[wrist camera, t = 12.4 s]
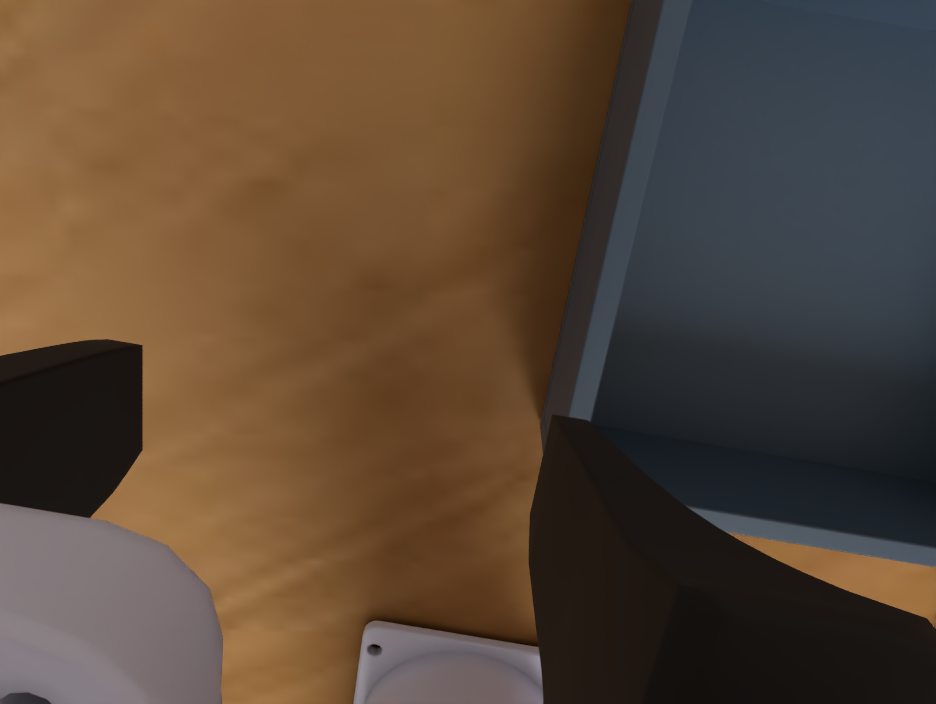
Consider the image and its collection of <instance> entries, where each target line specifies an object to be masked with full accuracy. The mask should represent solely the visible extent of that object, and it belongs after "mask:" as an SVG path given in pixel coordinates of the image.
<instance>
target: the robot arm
mask: <svg viewBox="0 0 936 704" xmlns="http://www.w3.org/2000/svg"><path fill="white" fill-rule="evenodd" d="M141 451H142V345H138V344H132V343H126V342H120V341H114V340H108V339H106V340H87V341H79V342H72V343H66V344H60V345H55V346H49V347H44V348H38V349H33V350H28V351H23V352H18V353H12V354H7V355H2V356H0V704H222V696H221V674H222V654H223V636H222V632H221V629H220V625H219V621H218V617H217V614H216V610H215V606H214V603H213V599H212V595H211V592H210V589H209V588H208V586H207V585H206V584H205V583H204V582H203V581H202V580H201V579H200V578H199V577H198V576H197V575H196V574H195V573H194V572H193V571H192V570H191V569H190V568H189V567H188V566H187V565H186V564H185V563H184V562H183V561H182V560H181V559H180V558H179V557H178V556H177V555H176V554H175V553H174V552H173V551H172V550H171V549H170V548H169V547H168V546H167V545H166V544H163V543H161V542H158V541H156V540H153V539H151V538H148V537H146V536H143V535H140V534H138V533H135V532H133V531H130V530H128V529H125V528H123V527H120V526H118V525H115V524H113V523H110V522H107V521H104V520H98V519H92V518H90V517H91V516H92V515H93V514H94V513H95V512H96V510H97V509H98V508H99V507H100V506H101V505H102V504H103V503H104V502H105V501H106V500H107V499H108V498H109V496H110V495H111V494H112V493H113V492H114V490H115V489H116V488H117V486H118V485H119V484H120V482H121V481H122V479H123V478H124V477H125V475H126V474H127V472H128V471H129V469H130V468H131V466H132V465H133V463H134V462H135V460H136V459H137V457H138V456H139V454H140V453H141ZM529 569H530V578H531V587H532V596H533V605H534V613H535V621H536V630H537V638H538V647H534V646H528V645H522V644H516V643H510V642H504V641H498V640H492V639H486V638H480V637H474V636H468V635H462V634H456V633H450V632H444V631H438V630H432V629H426V628H420V627H414V626H408V625H402V624H396V623H390V622H384V621H372V622H369V623H368V624H367V625H366V626H365V629H364V632H363V636H362V643H361V651H360V658H359V666H358V673H357V680H356V688H355V695H354V703H353V704H936V629H935V628H934V627H933V625H932V624H931V623H930V622H929V620H928V619H926V618H924V617H921V616H918V615H915V614H912V613H909V612H907V611H904V610H901V609H898V608H895V607H892V606H889V605H886V604H883V603H880V602H878V601H875V600H872V599H869V598H866V597H863V596H860V595H857V594H854V593H852V592H849V591H846V590H844V589H841V588H839V587H836V586H834V585H832V584H829V583H827V582H825V581H822V580H820V579H817V578H815V577H813V576H810V575H808V574H806V573H803V572H801V571H799V570H797V569H795V568H792V567H790V566H788V565H786V564H784V563H782V562H780V561H778V560H776V559H774V558H772V557H770V556H768V555H766V554H764V553H762V552H760V551H759V550H757V549H755V548H753V547H751V546H749V545H747V544H745V543H744V542H742V541H740V540H738V539H736V538H735V537H733V536H731V535H730V534H728V533H726V532H724V531H723V530H721V529H720V528H718V527H716V526H715V525H713V524H712V523H710V522H709V521H707V520H706V519H704V518H703V517H701V516H700V515H698V514H697V513H695V512H694V511H692V510H691V509H689V508H688V507H687V506H685V505H684V504H683V503H681V502H680V501H679V500H677V499H676V498H675V497H673V496H672V495H671V494H670V493H668V492H667V491H666V490H665V489H664V488H662V487H661V486H660V485H659V484H657V483H656V482H655V481H654V480H653V479H651V478H650V477H649V476H648V475H647V474H646V473H644V472H643V471H642V470H641V469H640V468H639V467H638V466H637V465H636V464H634V463H633V462H632V461H631V460H630V459H629V458H628V457H627V456H626V455H625V454H624V453H623V452H622V451H621V450H620V449H619V448H618V447H617V446H615V445H614V444H613V443H612V442H611V441H610V440H609V439H608V438H607V437H606V436H605V435H604V434H603V433H602V432H601V431H600V430H599V429H598V428H597V427H595V426H594V425H593V424H592V423H591V422H589V421H588V420H584V419H578V418H572V417H566V416H560V415H554V414H552V417H551V422H550V426H549V431H548V435H547V440H546V445H545V449H544V454H543V458H542V463H541V467H540V472H539V476H538V481H537V485H536V490H535V494H534V499H533V503H532V508H531V512H530V529H529ZM371 644H376V645H379V646H380V648H375V647H372V646H371Z"/></svg>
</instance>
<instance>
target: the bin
mask: <svg viewBox="0 0 936 704" xmlns="http://www.w3.org/2000/svg"><path fill="white" fill-rule="evenodd" d="M552 414H554V415H560V416H566V417H572V418H578V419H584V420H588V421H589V422H591V423H592V424H593V425H594V426H595V427H597V428H598V429H599V430H600V431H601V432H602V433H603V434H604V435H605V436H606V437H607V438H608V439H609V440H610V441H611V442H612V443H613V444H614V445H615V446H617V447H618V448H619V449H620V450H621V451H622V452H623V453H624V454H625V455H626V456H627V457H628V458H629V459H630V460H631V461H632V462H633V463H634V464H636V465H637V466H638V467H639V468H640V469H641V470H642V471H643V472H644V473H646V474H647V475H648V476H649V477H650V478H651V479H653V480H654V481H655V482H656V483H657V484H659V485H660V486H661V487H662V488H664V489H665V490H666V491H667V492H668V493H670V494H671V495H672V496H673V497H675V498H676V499H677V500H679V501H680V502H681V503H683V504H684V505H685V506H687V507H688V508H689V509H691V510H692V511H694V512H695V513H697V514H698V515H700V516H701V517H703V518H704V519H706V520H707V521H709V522H710V523H712V524H713V525H715V526H716V527H718V528H720V529H721V530H723V531H724V532H728V533H734V534H740V535H746V536H752V537H758V538H764V539H770V540H776V541H782V542H788V543H794V544H800V545H806V546H812V547H818V548H824V549H830V550H836V551H842V552H848V553H853V554H859V555H865V556H871V557H877V558H883V559H889V560H895V561H901V562H907V563H913V564H919V565H925V566H931V567H936V0H632V1H631V6H630V10H629V15H628V20H627V24H626V29H625V34H624V38H623V43H622V47H621V52H620V57H619V61H618V66H617V71H616V75H615V80H614V84H613V89H612V94H611V98H610V103H609V108H608V112H607V117H606V121H605V126H604V131H603V135H602V140H601V145H600V149H599V154H598V158H597V163H596V168H595V172H594V177H593V182H592V186H591V191H590V196H589V200H588V205H587V209H586V214H585V219H584V223H583V228H582V233H581V237H580V242H579V246H578V251H577V256H576V260H575V265H574V270H573V274H572V279H571V283H570V288H569V293H568V297H567V302H566V307H565V311H564V316H563V320H562V325H561V330H560V334H559V339H558V344H557V348H556V353H555V357H554V362H553V367H552V371H551V376H550V381H549V385H548V390H547V394H546V399H545V404H544V408H543V413H542V418H541V422H540V427H541V438H542V448H543V454H544V449H545V445H546V440H547V435H548V431H549V426H550V422H551V417H552Z"/></svg>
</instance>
